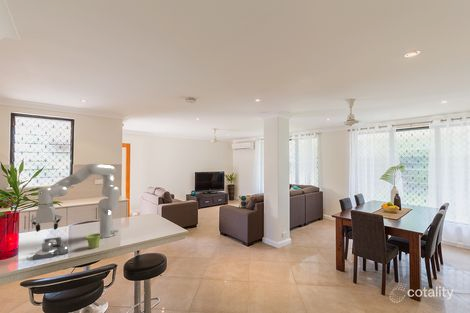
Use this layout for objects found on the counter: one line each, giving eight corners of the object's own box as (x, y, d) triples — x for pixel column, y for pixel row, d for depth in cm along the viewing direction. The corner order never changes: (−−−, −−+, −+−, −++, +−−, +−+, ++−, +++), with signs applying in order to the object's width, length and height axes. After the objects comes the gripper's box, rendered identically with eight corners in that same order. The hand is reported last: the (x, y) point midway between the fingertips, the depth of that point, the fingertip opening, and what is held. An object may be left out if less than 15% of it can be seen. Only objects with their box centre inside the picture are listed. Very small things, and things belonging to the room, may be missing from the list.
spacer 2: (69, 251, 152) (69, 244, 152) (66, 254, 147) (66, 247, 147) (60, 252, 150) (60, 245, 150) (57, 255, 145) (57, 248, 145)
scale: (44, 250, 154) (44, 238, 154) (63, 248, 158) (62, 236, 158) (32, 260, 140) (32, 247, 140) (52, 257, 143) (52, 244, 143)
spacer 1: (49, 251, 145) (49, 243, 145) (40, 252, 144) (40, 245, 144) (53, 248, 150) (53, 241, 150) (44, 249, 148) (44, 242, 148)
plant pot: (86, 246, 160) (85, 235, 160) (101, 243, 165) (100, 232, 165) (86, 251, 152) (86, 238, 152) (101, 247, 158) (101, 235, 158)
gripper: (27, 208, 141) (28, 233, 141) (58, 205, 146) (59, 230, 146) (33, 205, 148) (34, 230, 148) (63, 203, 153) (64, 226, 153)
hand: (47, 230), depth 147 cm, fingers open, 9 cm apart
